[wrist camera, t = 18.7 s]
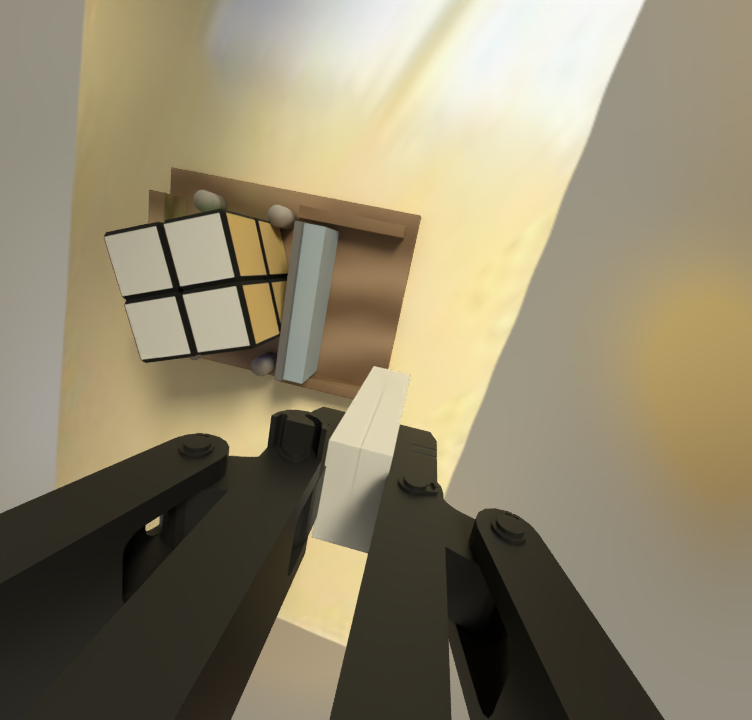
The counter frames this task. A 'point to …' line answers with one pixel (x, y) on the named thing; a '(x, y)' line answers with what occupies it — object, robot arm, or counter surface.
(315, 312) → the bar
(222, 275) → the puzzle cube
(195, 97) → the counter surface
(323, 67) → the counter surface
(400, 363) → the counter surface
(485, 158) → the counter surface
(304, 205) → the base
